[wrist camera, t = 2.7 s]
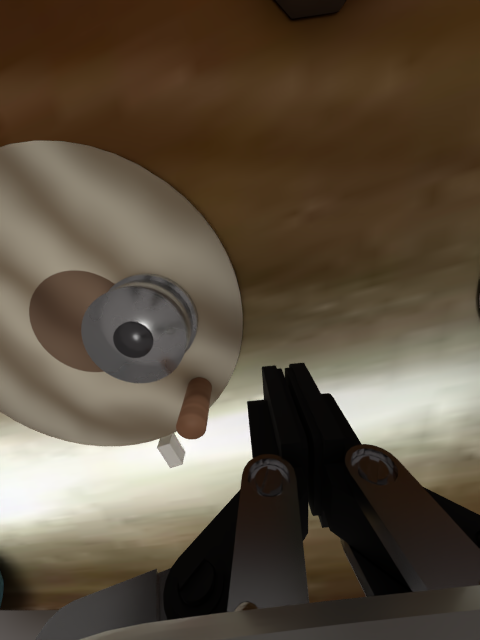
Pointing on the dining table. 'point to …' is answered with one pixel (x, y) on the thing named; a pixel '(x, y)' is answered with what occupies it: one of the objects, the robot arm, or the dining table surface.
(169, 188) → the turntable
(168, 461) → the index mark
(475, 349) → the dining table surface
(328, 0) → the beer bottle
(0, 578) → the casserole dish
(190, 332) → the cover
